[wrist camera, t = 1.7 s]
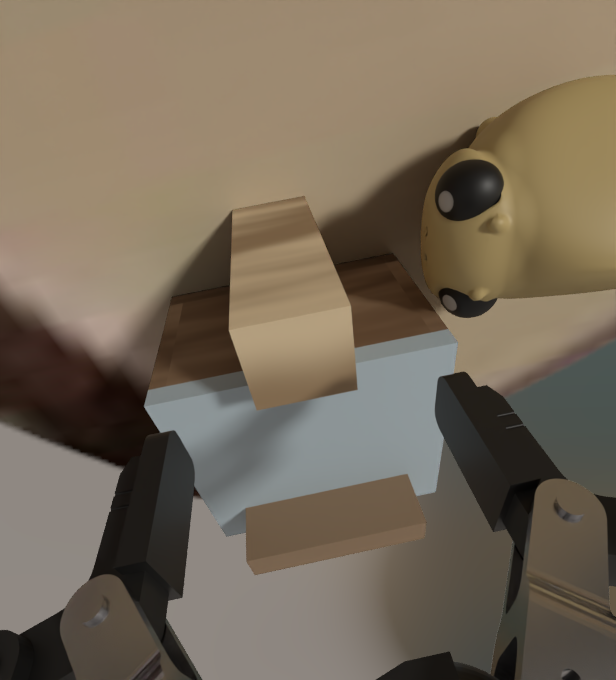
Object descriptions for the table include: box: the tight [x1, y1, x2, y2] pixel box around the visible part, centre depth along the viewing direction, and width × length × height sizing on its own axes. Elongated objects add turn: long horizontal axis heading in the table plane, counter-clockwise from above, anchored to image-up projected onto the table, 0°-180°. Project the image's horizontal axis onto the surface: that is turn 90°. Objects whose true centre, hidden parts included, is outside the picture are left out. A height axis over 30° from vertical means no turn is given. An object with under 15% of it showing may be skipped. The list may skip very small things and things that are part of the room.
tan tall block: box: [229, 196, 358, 410], centre depth 18 cm, size 4×4×11 cm
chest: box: [148, 253, 448, 390], centre depth 24 cm, size 13×14×8 cm
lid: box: [144, 329, 458, 575], centre depth 20 cm, size 13×14×4 cm
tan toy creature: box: [421, 75, 616, 318], centre depth 17 cm, size 10×12×11 cm
